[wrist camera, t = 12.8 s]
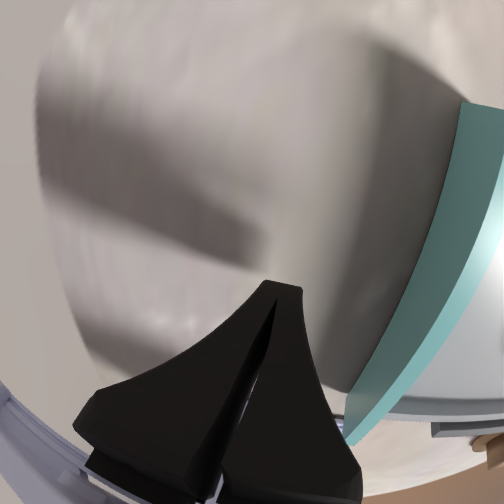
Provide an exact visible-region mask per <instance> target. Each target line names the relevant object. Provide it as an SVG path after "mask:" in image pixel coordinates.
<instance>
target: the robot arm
mask: <svg viewBox="0 0 504 504" xmlns="http://www.w3.org/2000/svg"><path fill="white" fill-rule="evenodd" d="M302 296H303V290H302V288H301V287H298V286H294V285H289V284H284V283H280V282H275V281H270V280H264V281H263V282H262V283H261V284H260V286H259V287H258V288H257V289H256V290H255V292H254V293H253V294H252V295H251V296H250V297H249V298H248V299H247V300H246V301H245V302H244V303H243V304H242V305H241V306H240V307H239V308H238V309H237V310H236V311H235V312H234V313H233V314H232V315H231V316H230V317H229V318H228V319H227V320H225V321H224V322H223V323H222V324H221V325H220V326H218V327H217V328H216V329H215V330H214V331H212V332H211V333H210V334H208V335H207V336H206V337H205V338H203V339H202V340H200V341H199V342H198V343H196V344H195V345H193V346H192V347H190V348H189V349H187V350H186V351H184V352H182V353H181V354H179V355H177V356H176V357H174V358H172V359H171V360H169V361H167V362H165V363H163V364H161V365H159V366H157V367H155V368H153V369H151V370H149V371H147V372H144V373H142V374H140V375H138V376H136V377H133V378H131V379H128V380H126V381H123V382H120V383H117V384H114V385H111V386H109V387H106V388H103V389H100V390H97V391H96V392H95V394H94V395H93V396H92V397H91V398H90V399H89V400H88V402H87V403H86V405H85V406H84V407H83V409H82V410H81V412H80V413H79V415H78V416H77V418H76V419H75V421H74V423H73V428H74V430H75V431H76V432H77V433H78V434H79V435H80V436H81V437H82V438H83V439H85V440H86V441H87V442H88V443H89V444H90V445H92V446H93V447H94V450H93V452H92V453H91V455H88V454H87V453H85V452H84V451H82V450H80V449H79V448H77V447H76V446H75V445H73V444H72V443H70V442H69V441H68V440H66V439H65V438H63V437H62V436H60V435H59V434H58V433H57V432H55V431H54V430H53V429H51V428H50V427H49V426H48V425H46V424H45V423H44V422H43V421H41V420H40V419H39V418H38V417H37V416H35V415H34V414H33V413H32V412H31V411H30V410H28V409H27V408H26V407H25V406H24V405H23V404H22V403H21V402H20V401H18V400H17V399H16V398H15V397H14V396H13V395H12V394H11V392H10V391H9V390H8V389H7V388H6V386H5V385H4V384H3V383H2V382H1V381H0V473H1V475H2V476H3V478H4V479H5V480H6V481H7V483H8V484H9V486H10V487H11V488H12V489H13V491H14V492H15V493H16V494H17V496H18V497H19V498H20V499H21V500H22V502H23V503H24V504H128V503H127V502H125V501H123V500H121V499H120V498H118V497H116V496H114V495H113V494H111V493H109V492H108V491H106V490H104V489H102V488H100V487H98V486H97V485H95V484H93V483H91V482H90V481H89V480H88V475H87V474H89V475H90V476H92V477H94V478H95V479H97V480H99V481H100V482H102V483H103V484H105V485H107V486H108V487H110V488H112V489H114V490H116V491H117V492H119V493H121V494H123V495H125V496H127V497H128V498H130V499H132V500H134V501H137V502H138V503H141V504H361V501H362V497H363V479H362V471H361V467H360V465H359V464H358V462H357V460H356V459H355V457H354V455H353V454H352V452H351V450H350V448H349V447H348V445H347V443H346V441H345V439H344V437H343V435H342V429H343V421H344V420H342V419H335V418H334V416H333V414H332V412H331V410H330V407H329V405H328V403H327V400H326V398H325V395H324V393H323V390H322V387H321V385H320V382H319V379H318V376H317V373H316V370H315V366H314V363H313V359H312V355H311V351H310V347H309V343H308V339H307V333H306V328H305V322H304V315H303V303H302ZM258 374H259V375H258ZM256 379H257V380H256ZM255 381H256V383H255ZM254 383H255V385H254ZM253 386H254V388H253ZM252 388H253V391H252V393H251V390H252ZM250 393H251V396H250V398H249V401H248V397H249V395H250Z"/></svg>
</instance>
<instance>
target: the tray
mask: <svg viewBox="0 0 504 504" xmlns="http://www.w3.org/2000/svg"><path fill="white" fill-rule="evenodd" d="M381 419H384V420H397V421H415V422H469V421H486V420H497V419H504V110H502V109H498V108H493V107H488V106H483V105H478V104H473V103H467V102H461V108H460V114H459V120H458V126H457V131H456V136H455V141H454V146H453V150H452V155H451V159H450V163H449V167H448V171H447V175H446V179H445V182H444V186H443V189H442V193H441V196H440V200H439V203H438V206H437V209H436V212H435V215H434V218H433V221H432V224H431V227H430V230H429V233H428V236H427V238H426V241H425V244H424V246H423V249H422V252H421V254H420V257H419V259H418V262H417V264H416V267H415V269H414V271H413V274H412V276H411V278H410V281H409V283H408V285H407V288H406V290H405V292H404V294H403V296H402V298H401V301H400V303H399V305H398V307H397V309H396V311H395V313H394V315H393V317H392V319H391V321H390V323H389V325H388V327H387V329H386V331H385V333H384V335H383V336H382V338H381V340H380V342H379V344H378V346H377V347H376V349H375V351H374V353H373V355H372V356H371V358H370V360H369V361H368V363H367V365H366V367H365V368H364V370H363V372H362V373H361V375H360V377H359V378H358V380H357V381H356V383H355V385H354V386H353V388H352V389H351V391H350V392H349V394H348V395H347V397H346V403H345V413H344V421H343V429H342V435H343V437H344V439H345V441H346V443H347V445H351V446H354V445H355V444H357V443H358V442H359V441H360V440H361V439H362V438H363V437H364V436H365V435H366V434H367V433H368V432H369V431H370V430H371V429H372V428H373V427H374V426H375V425H376V424H377V423H378V422H379V421H380V420H381Z"/></svg>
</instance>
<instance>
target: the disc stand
mask: <svg viewBox="0 0 504 504" xmlns="http://www.w3.org/2000/svg"><path fill="white" fill-rule="evenodd" d="M472 450H473V451H474V452H483V451H487V464H488V470H494V469H497V468H500V467H502V466H504V432H500V433H493V434H484V435H480V436H479V437H478V438H476V439H475V440H474V441H473V443H472Z"/></svg>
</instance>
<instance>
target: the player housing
mask: <svg viewBox="0 0 504 504" xmlns="http://www.w3.org/2000/svg"><path fill="white" fill-rule="evenodd" d="M500 432H504V419H497V420H486V421H469V422H431V434H432V438H434V437H460V436H474V435H484V434H493V433H500Z"/></svg>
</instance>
